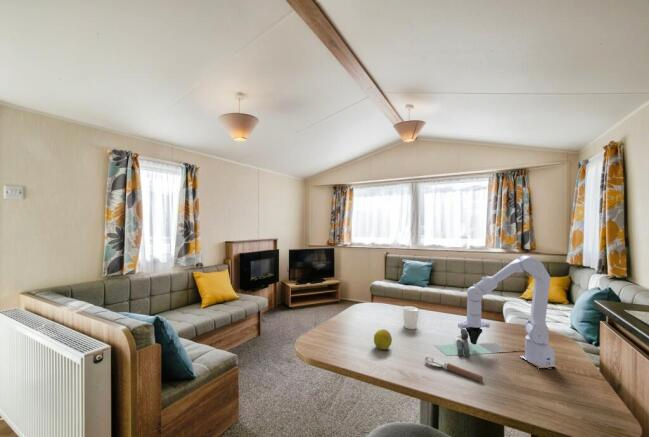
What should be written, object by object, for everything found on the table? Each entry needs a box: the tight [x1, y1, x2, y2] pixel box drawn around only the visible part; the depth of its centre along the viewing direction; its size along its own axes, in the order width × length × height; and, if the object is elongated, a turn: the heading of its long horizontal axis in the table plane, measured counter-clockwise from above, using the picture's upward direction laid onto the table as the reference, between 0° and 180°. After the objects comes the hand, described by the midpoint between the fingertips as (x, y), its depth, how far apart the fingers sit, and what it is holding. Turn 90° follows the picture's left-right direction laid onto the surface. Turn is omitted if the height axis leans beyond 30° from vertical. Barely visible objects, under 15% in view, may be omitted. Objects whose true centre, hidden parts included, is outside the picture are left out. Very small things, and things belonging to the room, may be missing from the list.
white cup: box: [402, 305, 419, 330], centre depth 148 cm, size 8×8×10 cm
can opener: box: [455, 328, 470, 358], centre depth 124 cm, size 19×5×6 cm, turn 156°
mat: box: [435, 342, 500, 357], centre depth 124 cm, size 9×39×1 cm, turn 99°
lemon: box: [373, 328, 393, 351], centre depth 122 cm, size 11×8×8 cm
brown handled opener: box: [424, 354, 484, 383], centre depth 104 cm, size 20×6×3 cm, turn 49°
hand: (473, 343), depth 123 cm, fingers closed
